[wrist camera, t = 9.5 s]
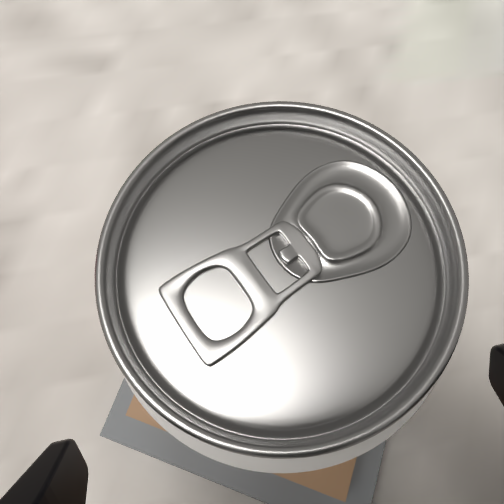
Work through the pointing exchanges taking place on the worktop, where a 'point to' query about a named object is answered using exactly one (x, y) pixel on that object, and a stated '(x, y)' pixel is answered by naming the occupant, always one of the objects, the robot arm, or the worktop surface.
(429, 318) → the can
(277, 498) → the plinth
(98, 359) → the worktop surface
